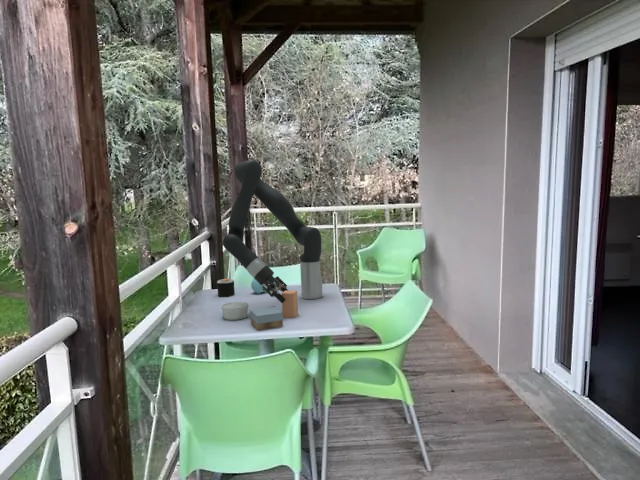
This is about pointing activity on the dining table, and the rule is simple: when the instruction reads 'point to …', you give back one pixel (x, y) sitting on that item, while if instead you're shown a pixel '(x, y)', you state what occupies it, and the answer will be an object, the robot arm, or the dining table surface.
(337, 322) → the dining table surface
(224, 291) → the sushi
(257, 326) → the walnut base slab
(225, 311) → the ramekin
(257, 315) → the slate top slab
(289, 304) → the terracotta block
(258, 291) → the toy flower bud
